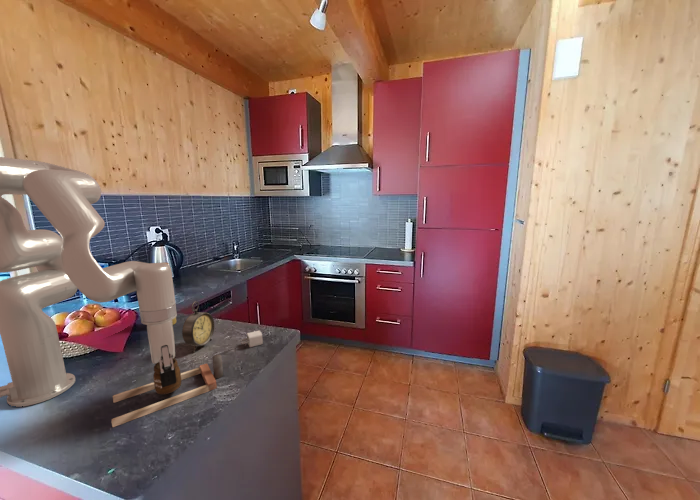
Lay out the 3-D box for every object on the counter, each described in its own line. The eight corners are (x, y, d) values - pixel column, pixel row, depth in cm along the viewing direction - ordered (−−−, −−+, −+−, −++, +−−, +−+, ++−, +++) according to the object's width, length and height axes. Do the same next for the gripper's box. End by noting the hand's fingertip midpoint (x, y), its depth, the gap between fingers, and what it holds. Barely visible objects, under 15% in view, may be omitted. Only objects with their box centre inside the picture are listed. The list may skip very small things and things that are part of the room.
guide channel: (112, 427, 65) (108, 403, 64) (113, 400, 74) (109, 379, 73) (228, 383, 80) (226, 364, 79) (218, 365, 89) (216, 347, 88)
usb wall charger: (262, 344, 101) (262, 334, 101) (242, 350, 98) (241, 339, 97) (259, 340, 105) (259, 329, 104) (239, 345, 101) (238, 334, 101)
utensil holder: (175, 378, 81) (170, 337, 78) (186, 386, 77) (181, 344, 75) (151, 389, 76) (144, 347, 74) (162, 399, 72) (155, 354, 70)
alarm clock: (195, 355, 95) (190, 308, 92) (181, 353, 96) (175, 307, 93) (217, 339, 105) (212, 296, 102) (203, 338, 106) (199, 295, 103)
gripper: (139, 306, 77) (148, 368, 80) (141, 329, 64) (152, 402, 67) (172, 299, 82) (179, 358, 85) (181, 320, 68) (189, 389, 71)
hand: (167, 377), depth 76 cm, fingers closed on utensil holder, 5 cm apart
